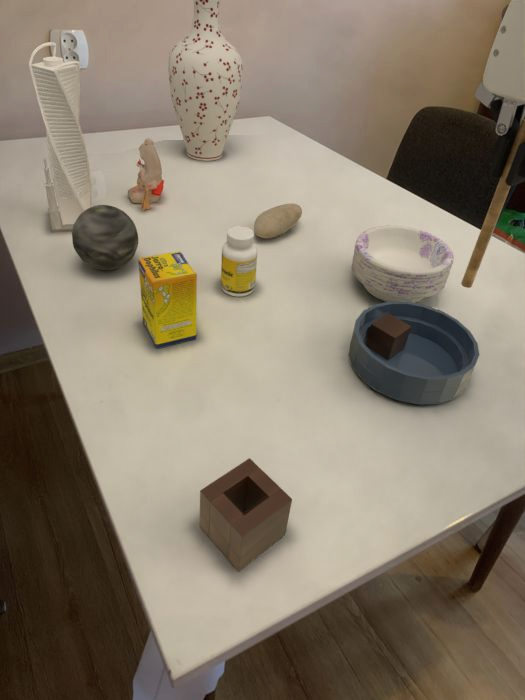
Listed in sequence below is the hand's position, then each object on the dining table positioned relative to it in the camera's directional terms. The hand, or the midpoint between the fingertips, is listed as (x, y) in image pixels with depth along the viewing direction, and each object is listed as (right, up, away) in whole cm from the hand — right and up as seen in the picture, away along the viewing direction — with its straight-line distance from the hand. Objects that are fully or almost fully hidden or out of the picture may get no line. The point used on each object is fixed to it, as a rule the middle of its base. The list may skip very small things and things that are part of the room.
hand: (506, 178), depth 53 cm
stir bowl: (-4, -19, +21) cm, 29 cm away
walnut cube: (-7, -17, +23) cm, 29 cm away
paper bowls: (-3, -7, +36) cm, 37 cm away
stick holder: (-26, -35, 0) cm, 43 cm away
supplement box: (-37, -15, +22) cm, 46 cm away
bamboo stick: (-1, -10, +8) cm, 13 cm away
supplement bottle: (-28, -7, +32) cm, 43 cm away
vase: (-38, +29, +74) cm, 88 cm away
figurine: (-47, +12, +53) cm, 72 cm away
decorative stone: (-49, -3, +34) cm, 60 cm away
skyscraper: (-58, +7, +45) cm, 74 cm away
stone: (-21, +5, +48) cm, 52 cm away
